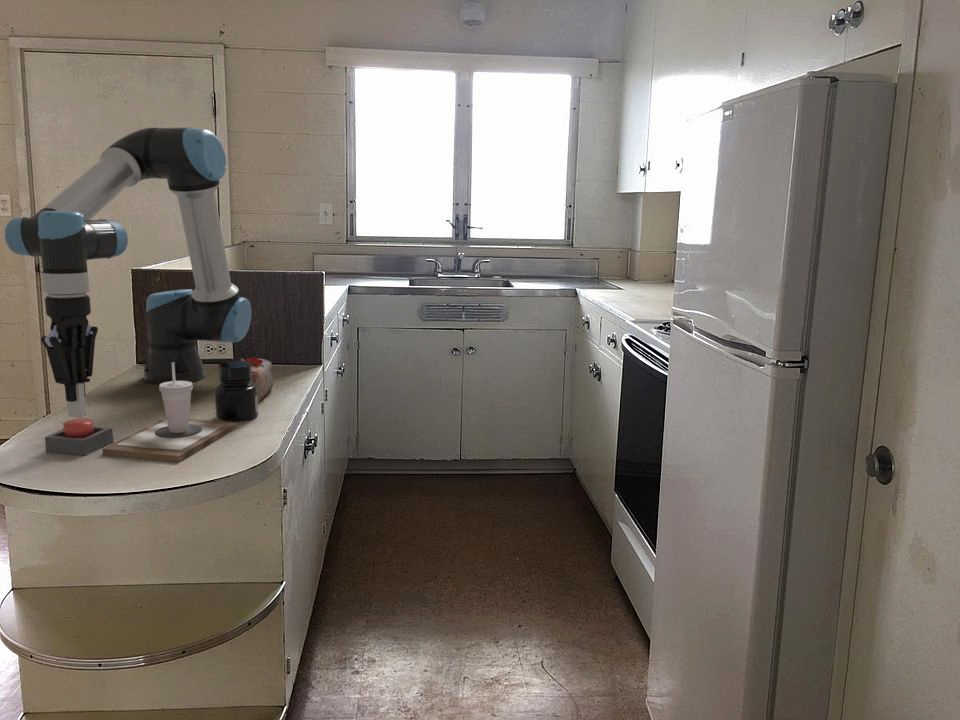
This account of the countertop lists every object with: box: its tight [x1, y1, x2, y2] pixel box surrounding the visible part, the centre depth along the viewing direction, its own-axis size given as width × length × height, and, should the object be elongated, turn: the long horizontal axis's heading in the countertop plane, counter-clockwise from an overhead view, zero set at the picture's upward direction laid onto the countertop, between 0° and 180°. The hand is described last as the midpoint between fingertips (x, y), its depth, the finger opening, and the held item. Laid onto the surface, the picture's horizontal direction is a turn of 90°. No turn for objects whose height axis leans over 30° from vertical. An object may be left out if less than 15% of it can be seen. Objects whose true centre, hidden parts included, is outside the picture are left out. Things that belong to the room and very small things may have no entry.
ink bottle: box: [214, 360, 259, 422], centre depth 176 cm, size 10×9×12 cm
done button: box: [62, 418, 95, 438], centre depth 154 cm, size 5×5×2 cm
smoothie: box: [158, 362, 194, 433], centre depth 161 cm, size 6×6×14 cm
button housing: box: [44, 425, 114, 456], centre depth 155 cm, size 8×8×3 cm
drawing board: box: [101, 418, 238, 463], centre depth 160 cm, size 22×16×2 cm
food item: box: [240, 356, 274, 403], centre depth 193 cm, size 14×8×10 cm, turn 0°
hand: (77, 416), depth 154 cm, fingers closed
